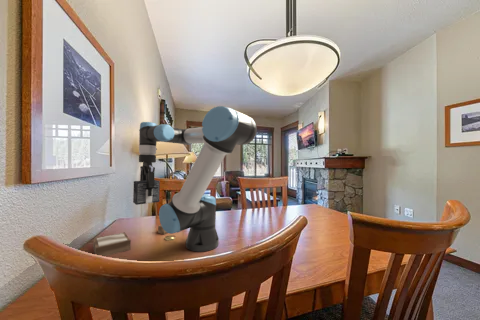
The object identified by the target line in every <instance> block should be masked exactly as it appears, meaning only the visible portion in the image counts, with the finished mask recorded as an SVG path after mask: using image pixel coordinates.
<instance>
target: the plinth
mask: <svg viewBox="0 0 480 320" xmlns="http://www.w3.org/2000/svg"><path fill="white" fill-rule="evenodd" d="M131 241H132V240H131V239H130V237H129V236H128V235H127V233H126V232H120V233H115V234H110V235H105V236H100V237H95V238H93V241H92V242H93V244H92V245H93V246H92V248H93V253H94V255H95V254H97V255H102V256H104V257H107V256H110V255H115V254H118V253H122V252H126V251H130V250H131Z"/></svg>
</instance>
